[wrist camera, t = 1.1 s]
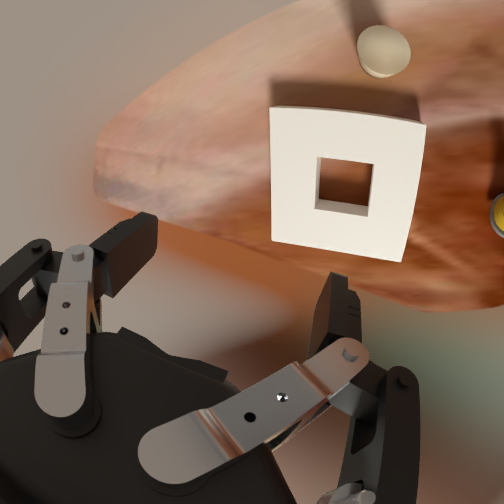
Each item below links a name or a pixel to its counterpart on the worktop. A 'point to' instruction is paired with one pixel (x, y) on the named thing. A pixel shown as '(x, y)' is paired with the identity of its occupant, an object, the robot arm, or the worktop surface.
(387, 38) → the wooden peg
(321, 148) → the socket board
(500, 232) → the drill bit
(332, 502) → the robot arm
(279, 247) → the worktop surface
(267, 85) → the worktop surface
